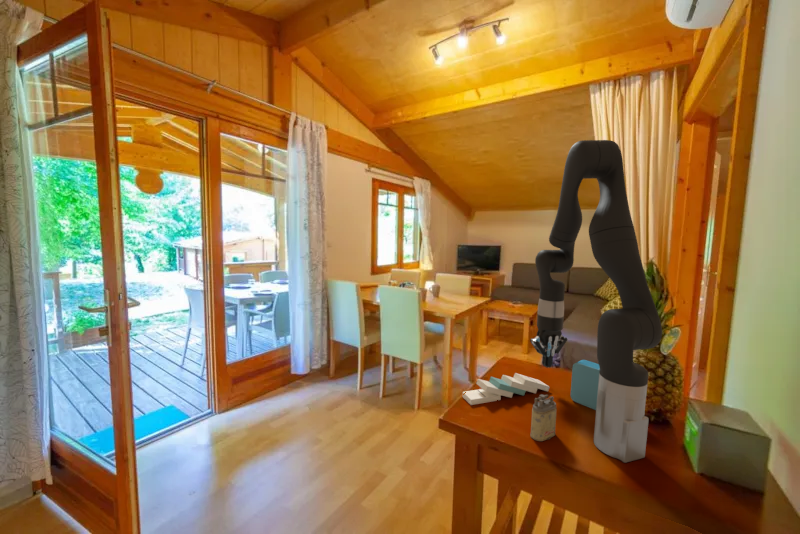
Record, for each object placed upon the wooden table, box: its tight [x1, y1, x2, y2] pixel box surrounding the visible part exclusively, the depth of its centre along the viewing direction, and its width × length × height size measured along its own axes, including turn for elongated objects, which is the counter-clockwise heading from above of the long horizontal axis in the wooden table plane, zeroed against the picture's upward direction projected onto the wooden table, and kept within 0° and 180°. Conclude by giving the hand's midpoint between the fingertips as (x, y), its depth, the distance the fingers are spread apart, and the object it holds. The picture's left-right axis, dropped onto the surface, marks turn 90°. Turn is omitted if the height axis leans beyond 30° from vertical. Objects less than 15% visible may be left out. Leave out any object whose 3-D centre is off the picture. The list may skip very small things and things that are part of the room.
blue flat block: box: [570, 359, 600, 411], centre depth 97 cm, size 12×4×12 cm, turn 38°
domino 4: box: [500, 374, 538, 394], centre depth 105 cm, size 2×5×10 cm
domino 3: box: [488, 376, 527, 396], centre depth 104 cm, size 2×5×10 cm
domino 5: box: [513, 372, 550, 392], centre depth 107 cm, size 2×5×10 cm
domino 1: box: [462, 388, 502, 406], centre depth 101 cm, size 2×5×10 cm
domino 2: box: [476, 378, 514, 399], centre depth 102 cm, size 2×5×10 cm
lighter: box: [530, 394, 558, 442], centre depth 83 cm, size 7×4×10 cm, turn 120°
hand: (547, 366), depth 108 cm, fingers closed
